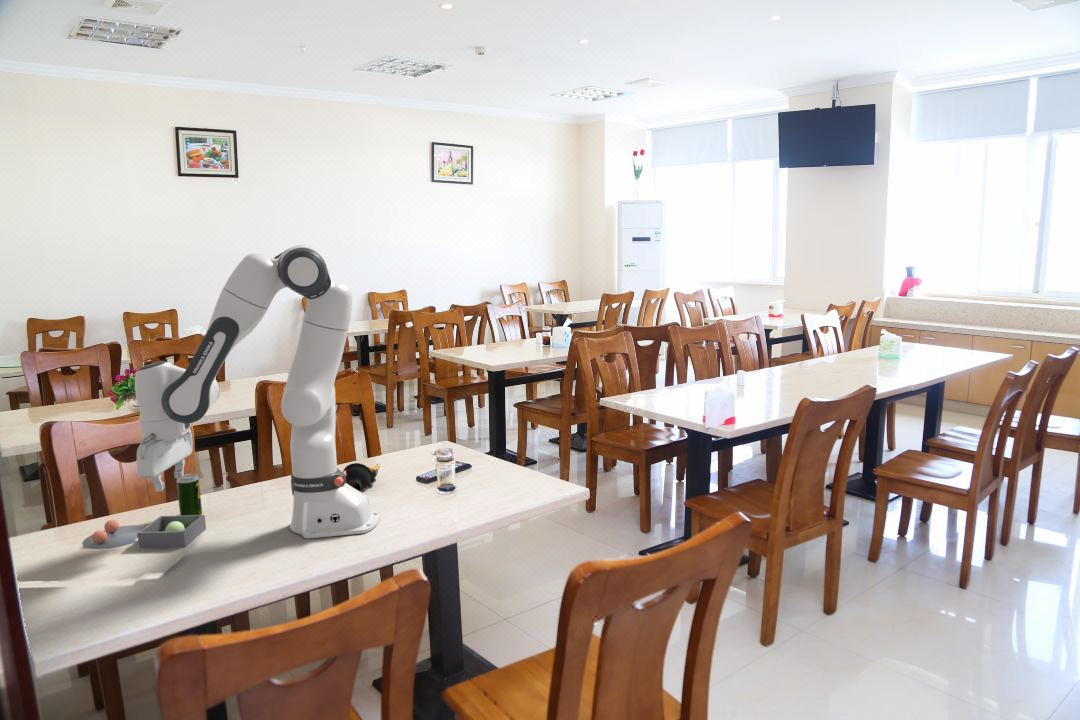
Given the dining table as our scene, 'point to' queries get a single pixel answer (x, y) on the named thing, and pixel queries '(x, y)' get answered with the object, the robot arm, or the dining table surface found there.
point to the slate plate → (116, 538)
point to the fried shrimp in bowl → (360, 475)
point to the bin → (171, 532)
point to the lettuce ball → (174, 526)
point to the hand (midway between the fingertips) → (170, 484)
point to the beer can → (189, 495)
